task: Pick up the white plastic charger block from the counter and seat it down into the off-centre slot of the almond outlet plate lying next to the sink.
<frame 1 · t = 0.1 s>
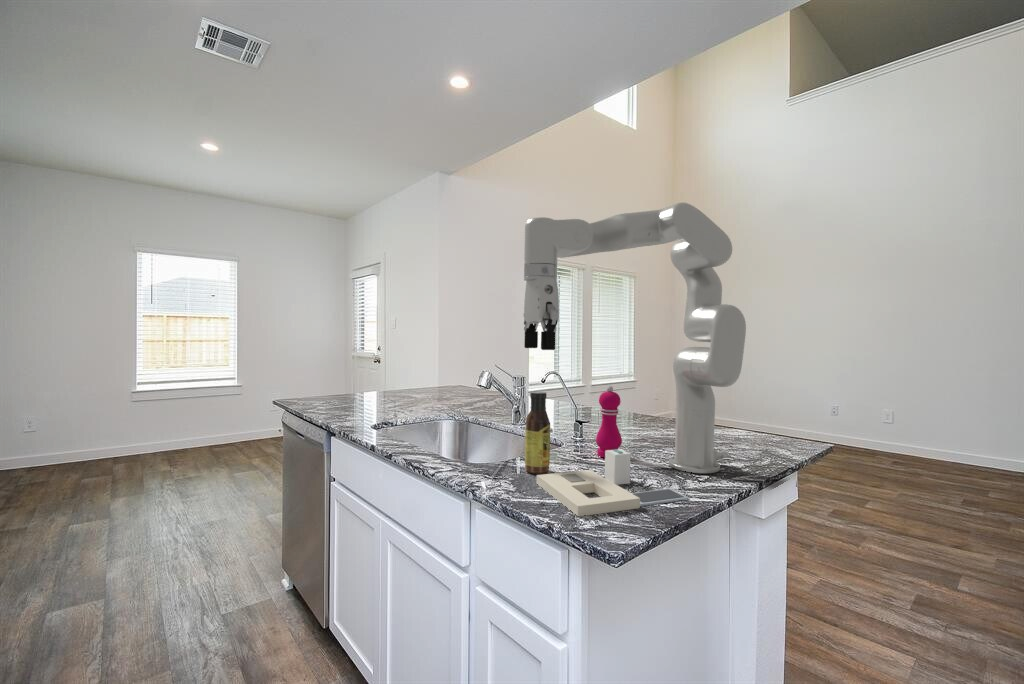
hand: (539, 348, 107), 31 cm above the worktop, tool pointing down, fingers open, 9 cm apart
sauce bottle: (537, 471, 118), on the worktop
outlet plate: (584, 495, 101), on the worktop
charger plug: (617, 481, 111), on the worktop
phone: (656, 500, 100), on the worktop
pepper mill: (608, 456, 133), on the worktop
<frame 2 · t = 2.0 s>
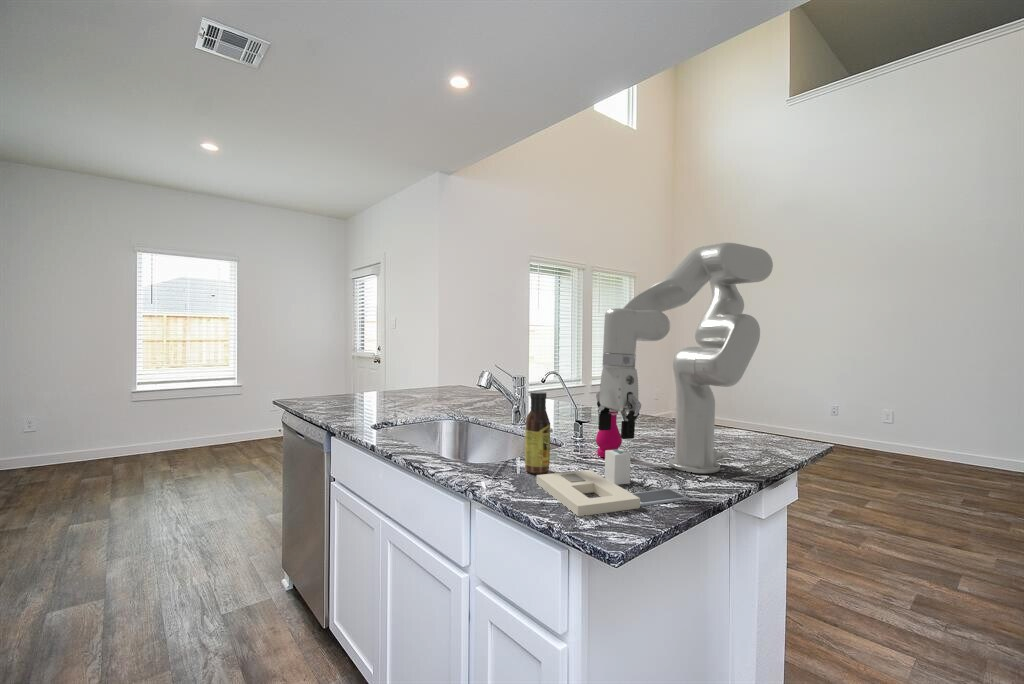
hand: (615, 434, 110), 11 cm above the worktop, tool pointing down, fingers open, 9 cm apart
nothing on the worktop moved.
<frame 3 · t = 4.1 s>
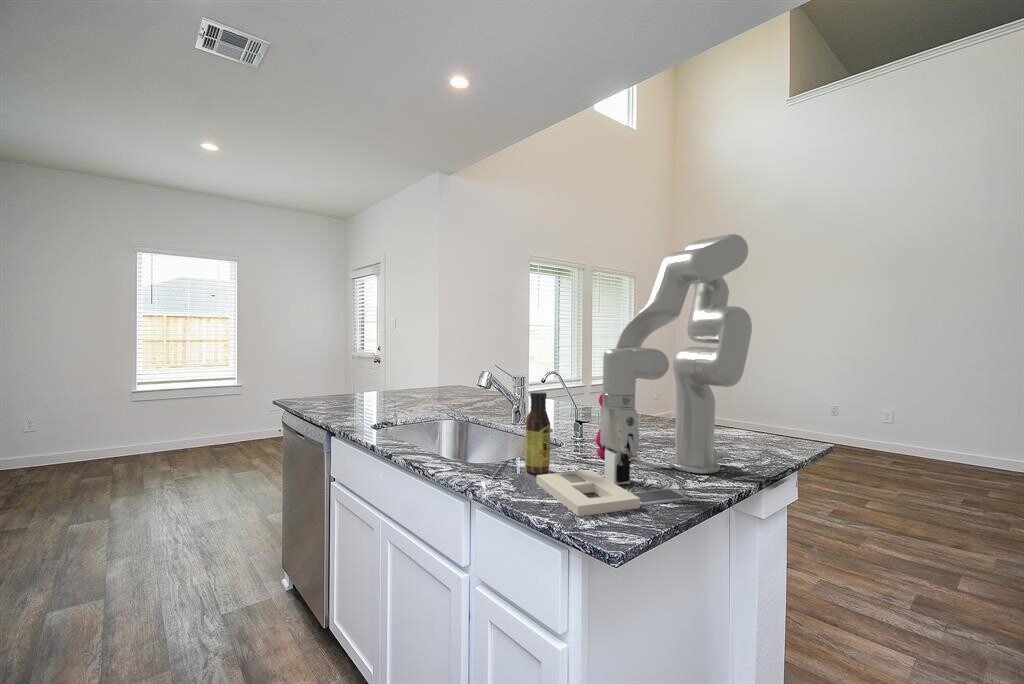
hand: (616, 477, 111), 1 cm above the worktop, tool pointing down, fingers closed on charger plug, 4 cm apart
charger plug: (616, 481, 111), on the worktop, touching gripper
everything else where it was.
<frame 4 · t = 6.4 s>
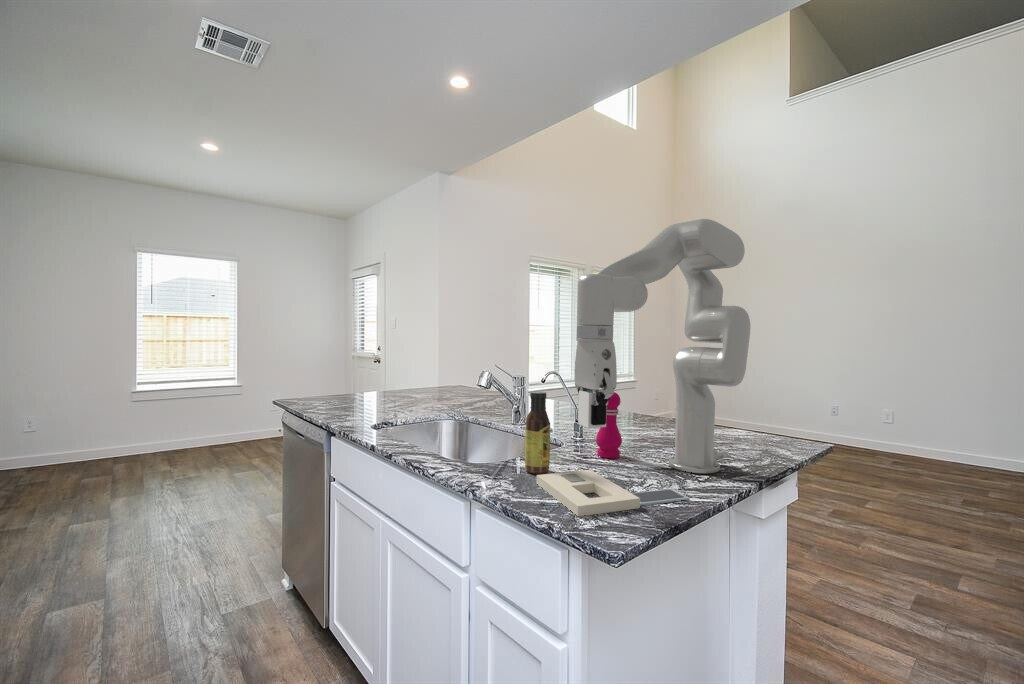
hand: (592, 421, 97), 17 cm above the worktop, tool pointing down, fingers closed on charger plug, 4 cm apart
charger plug: (591, 425, 97), point 16 cm above the worktop, touching gripper
everything else where it was.
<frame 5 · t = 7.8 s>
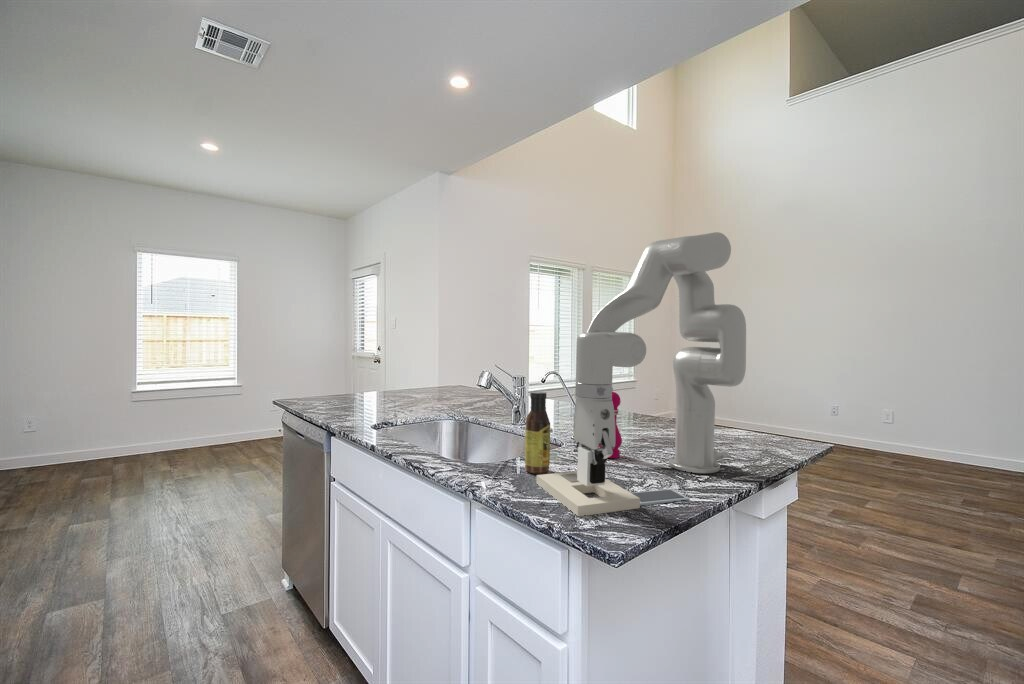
hand: (591, 478, 98), 5 cm above the worktop, tool pointing down, fingers closed on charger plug, 4 cm apart
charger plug: (590, 482, 98), point 4 cm above the worktop, touching gripper
everything else where it was.
when the fingers open (2 cm above the worktop, at t = 9.0 s): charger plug stays where it is, resting in outlet plate.
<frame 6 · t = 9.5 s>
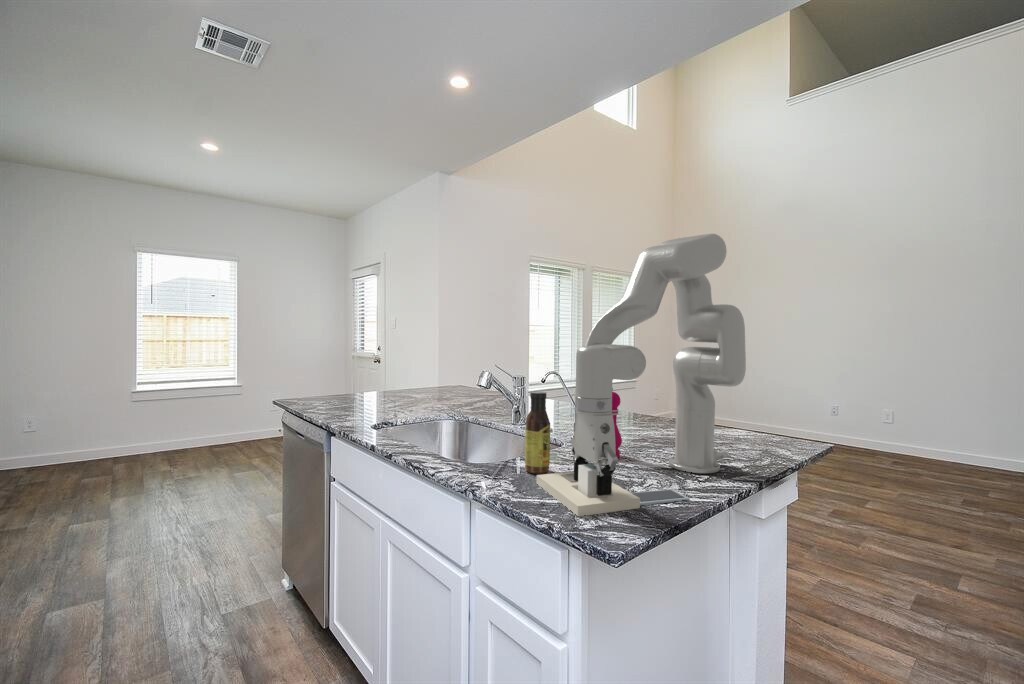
hand: (591, 486, 98), 3 cm above the worktop, tool pointing down, fingers open, 9 cm apart
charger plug: (591, 500, 98), resting in outlet plate
everything else where it was.
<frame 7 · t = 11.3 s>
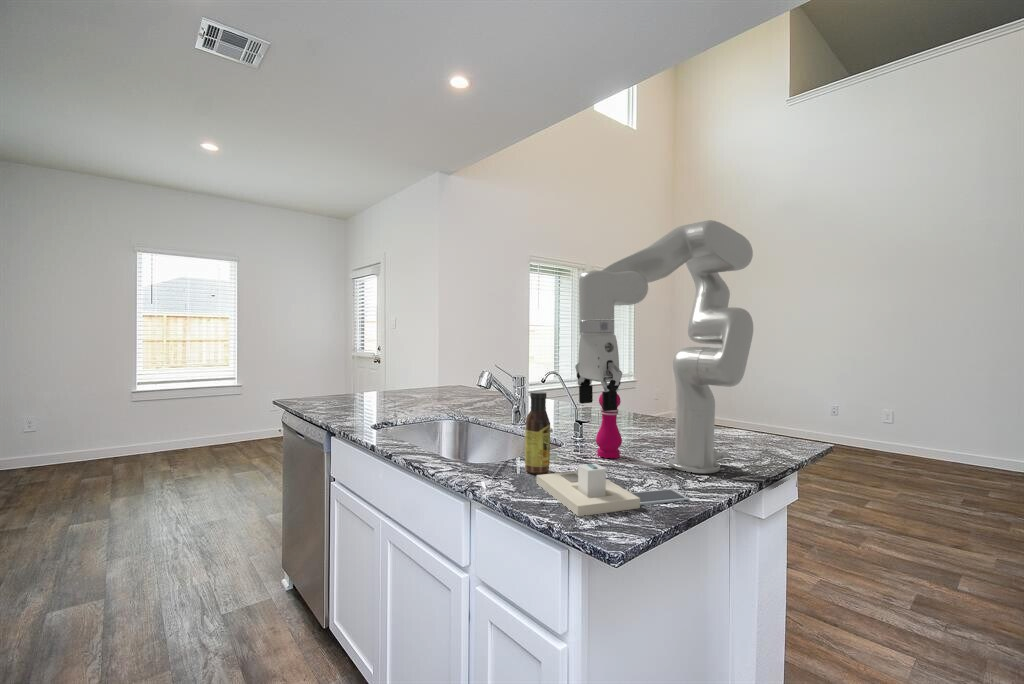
hand: (597, 406, 103), 19 cm above the worktop, tool pointing down, fingers open, 9 cm apart
nothing on the worktop moved.
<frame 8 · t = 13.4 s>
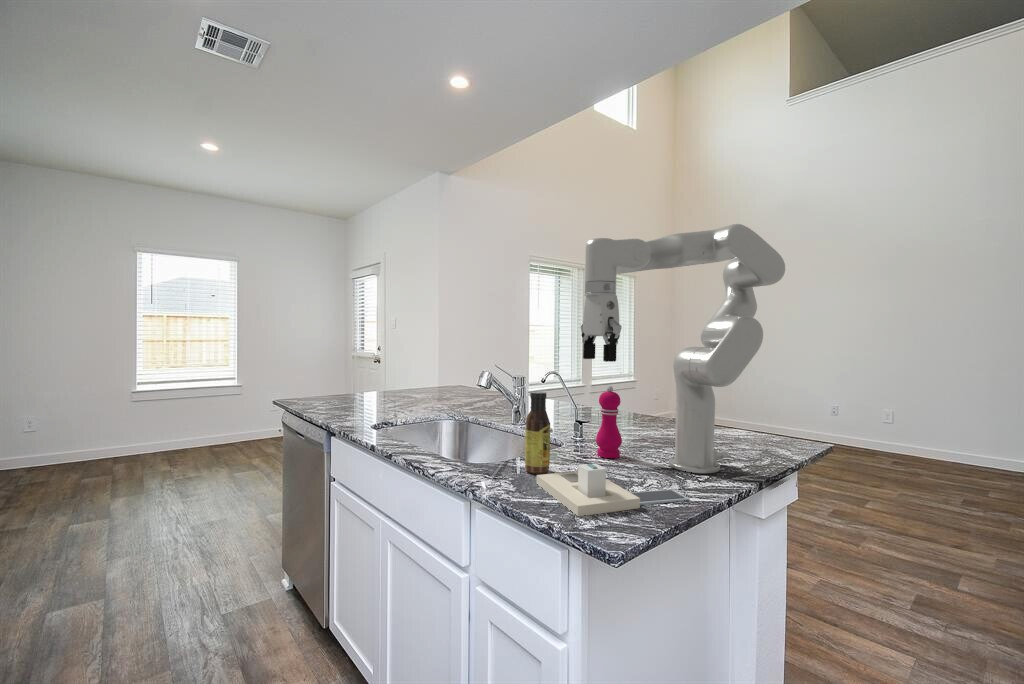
hand: (599, 360, 115), 28 cm above the worktop, tool pointing down, fingers open, 9 cm apart
nothing on the worktop moved.
at the end: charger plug 0.0 cm from the target spot on the outlet plate, point 0.0 cm above the outlet plate's base; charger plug tilted 0°; the gripper is holding nothing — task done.
